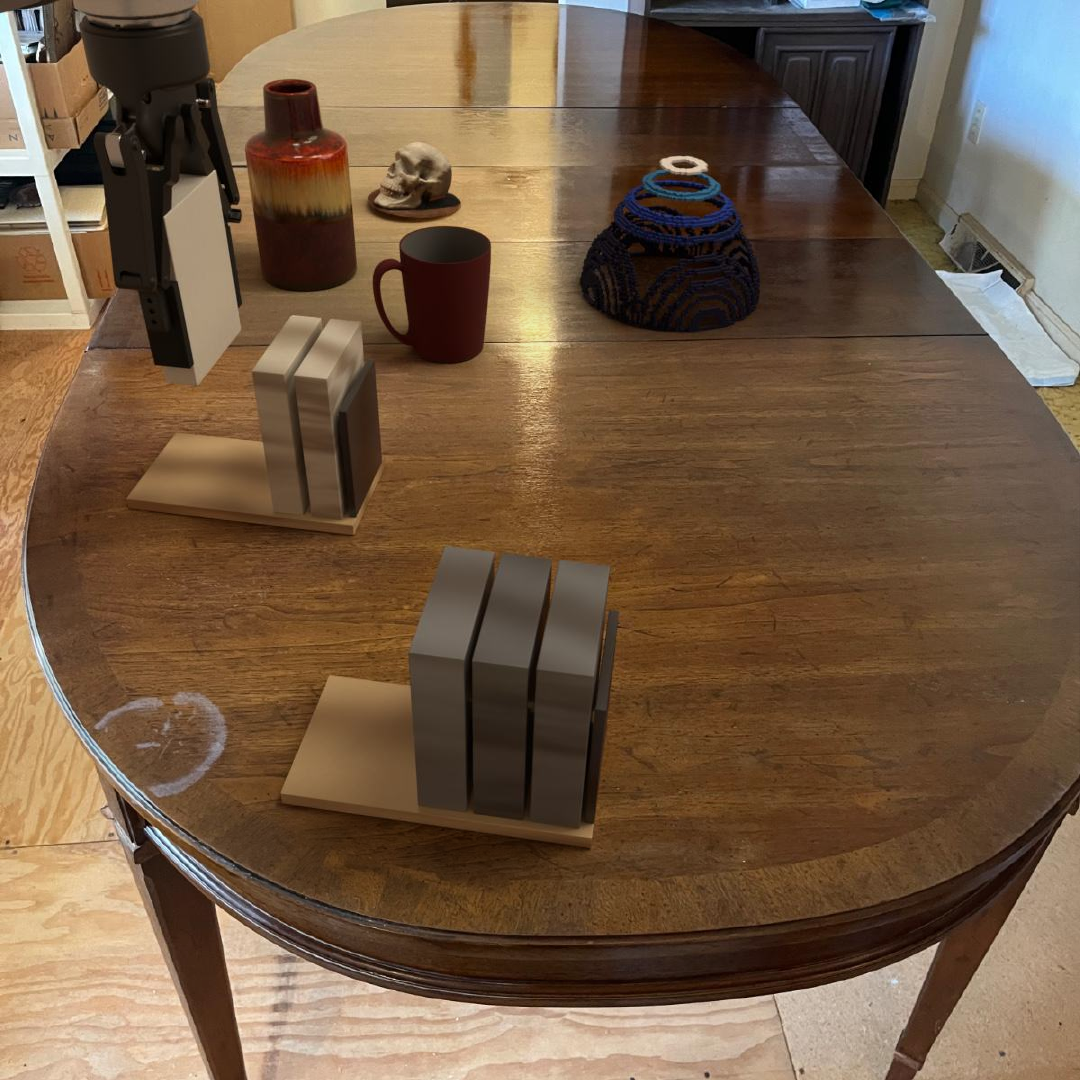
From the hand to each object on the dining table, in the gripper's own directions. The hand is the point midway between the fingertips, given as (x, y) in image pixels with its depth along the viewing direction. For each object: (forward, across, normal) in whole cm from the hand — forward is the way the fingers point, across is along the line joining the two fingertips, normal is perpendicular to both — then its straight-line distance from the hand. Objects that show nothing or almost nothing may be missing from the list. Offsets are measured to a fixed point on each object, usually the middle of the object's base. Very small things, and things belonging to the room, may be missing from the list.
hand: (200, 332), depth 81 cm
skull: (+14, +63, -1) cm, 65 cm away
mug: (+14, +26, -12) cm, 32 cm away
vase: (+14, +41, +6) cm, 44 cm away
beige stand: (+14, 0, -3) cm, 14 cm away
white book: (+2, 0, 0) cm, 2 cm away
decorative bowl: (+14, +45, -35) cm, 59 cm away
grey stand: (+14, -26, -25) cm, 39 cm away
